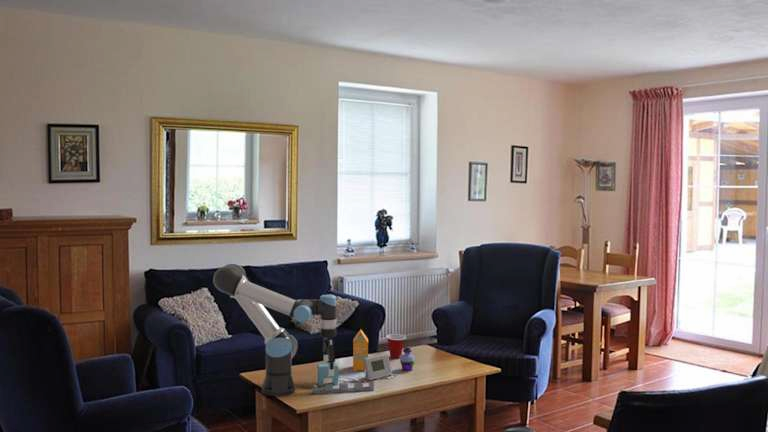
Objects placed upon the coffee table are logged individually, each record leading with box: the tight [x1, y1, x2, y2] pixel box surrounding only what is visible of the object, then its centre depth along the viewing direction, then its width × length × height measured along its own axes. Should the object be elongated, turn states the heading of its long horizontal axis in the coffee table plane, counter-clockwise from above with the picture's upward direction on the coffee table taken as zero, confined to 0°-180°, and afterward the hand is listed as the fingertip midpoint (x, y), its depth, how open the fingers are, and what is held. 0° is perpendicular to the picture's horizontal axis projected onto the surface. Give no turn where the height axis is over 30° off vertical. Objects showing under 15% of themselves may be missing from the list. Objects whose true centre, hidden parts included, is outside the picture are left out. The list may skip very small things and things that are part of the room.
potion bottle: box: [399, 345, 416, 372], centre depth 348 cm, size 9×9×12 cm
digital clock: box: [364, 353, 393, 381], centre depth 334 cm, size 16×9×11 cm, turn 123°
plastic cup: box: [386, 333, 407, 360], centre depth 372 cm, size 11×11×12 cm
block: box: [317, 363, 339, 387], centre depth 322 cm, size 9×4×9 cm, turn 104°
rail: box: [312, 380, 375, 395], centre depth 310 cm, size 28×3×4 cm, turn 104°
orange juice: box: [352, 328, 369, 371], centre depth 349 cm, size 8×9×20 cm
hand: (328, 372), depth 322 cm, fingers open, 13 cm apart
